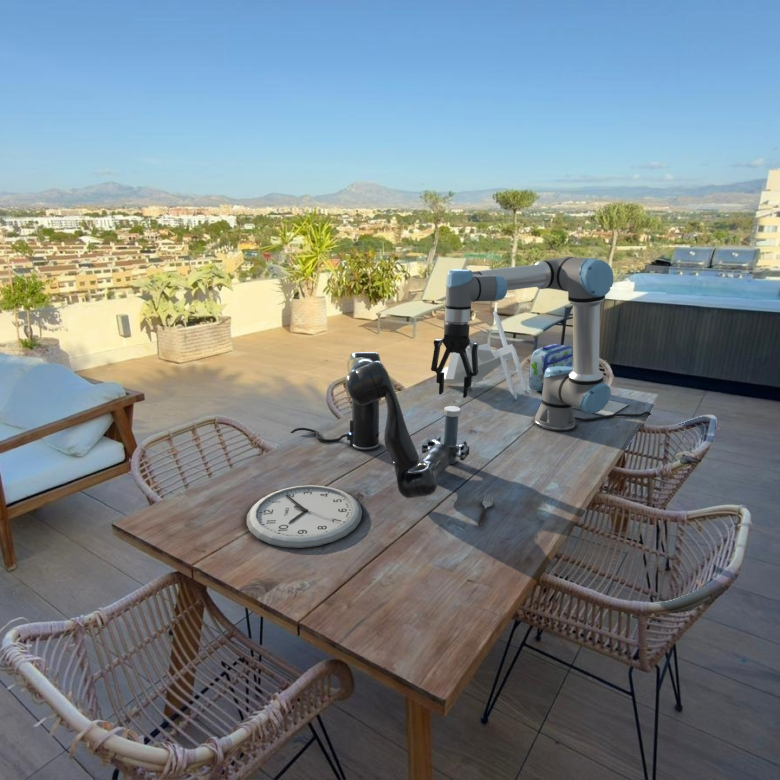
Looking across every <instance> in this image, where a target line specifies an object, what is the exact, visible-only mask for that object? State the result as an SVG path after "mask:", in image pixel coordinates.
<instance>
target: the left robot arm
mask: <svg viewBox="0 0 780 780" xmlns="http://www.w3.org/2000/svg"><path fill="white" fill-rule="evenodd" d="M346 365H347V367H346V368H347V375H346V377H345V387H346V391H347V393H348V396H349V397H350V399H351V419H350V420H349V431H348V432H347V433H344V434H342V435H340V437H338V438H332V439H326V438H321V437H320V436H319V435H320V433H319V431H318V430H315V429H312V428H308V427H296V428H294V429H293V430H291V431H290V434H294V433H295V432H297V431H306V432H311V433H314V434H315V437H316V439H317V440H318V441H320V442H324V443H325V442H326V443H332V442H339V441H341V440H342V439H343V438H346V440H347V441H349V447H352V448H353V449H355V450H358V451H373V450H376V449H378V448H379V447H380V433H381V432H380V399H383V398H384V399H385V402H386V408H387V409H386V410H387V411H386V421H385V428H384V434H383V435H384V436H383V439H384V445H385V448H386V451H387V453H388V455H389V457H390V460H391V461H392V463H393V466H394V472H395V478H396V483H397V489H398V492H399V493H400V495H401V496H402V497H404V498H406V499H414V498H420V497H426V496H427V497H428V496H430V495H432V494H434V493H435V492H436V491H437V488H438V480H439V477H440V475H442V474H443V473H444V472H445V471H446V470H447V468H448V467H449V465H451V464H450V463H451V461H452V459H453V458H455V457H456V458H459V460H460V461H465V460H466V459H467V457H468V456H469V455H470V449H471V448H470V446H469V445H468V442H467V441H466V440H463V441H462V442H461V443H460V444H458V443H457V444H455V445H444V443H441V440H442V439H441V438H442V437H441V436H440V435H438V436H436V437H434V439H433V438H432V440H431V439H429V438H426V439H425V441H424V442H423V443H422V445H421V454H424V455H423V456H422V458H421V459H420V456H419V453H418V451H417V449H416V446H415V445H414V442H413V440H412V437H411V435H410V433H409V430H408V428H407V424H406V421H405V418H404V414H403V410H402V407H401V404H400V402H399V398H398V395H397V393H396V390H395V387H394V383H393V381H392V379H391V376H390V374H389V372H388V370H387V368H386V367H385V365H384V363H382V362H381V357H380V354H379V353H378V352H376V351H357V352H355V351H354V352H352V353H351V354H349V356H348V359H347V364H346ZM454 448H455V449H454ZM414 467H415V468H414ZM413 468H414V470H412V471H410V470H411V469H413Z"/></svg>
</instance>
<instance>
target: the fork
mask: <svg viewBox="0 0 780 780" xmlns="http://www.w3.org/2000/svg"><path fill="white" fill-rule="evenodd" d="M487 492H488V491H487ZM487 492H485V494H484V497H483V500H482V506H483V507H484V508H483V509H482V511H481V512H480V515H479V520H478V525H477V526H478V527H480V525H481V523H482V522H483V520H484V519H485V516H486V511H487V508H489V507H492V505H493V500H494V493H490V494H489V492H488V493H487ZM486 494H487V495H486Z"/></svg>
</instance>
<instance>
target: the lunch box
mask: <svg viewBox="0 0 780 780" xmlns="http://www.w3.org/2000/svg"><path fill="white" fill-rule="evenodd" d="M555 366H567V367H573V346H571V345H565V344H558V343H553V344H548V345H546V346H542V347H540V348H537V349H535V350H534V351H533V352H532V354H531V357H530V362H529V374H528V375H529V376H528V387H529V388H528V389H530V390H534V391H539V392H542V390H543V380H544V375H545V370H546V369H547V368H549V367H555Z"/></svg>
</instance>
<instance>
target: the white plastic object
mask: <svg viewBox="0 0 780 780" xmlns="http://www.w3.org/2000/svg"><path fill="white" fill-rule="evenodd" d="M492 315H493V319H494V321H495V324H496V325H495V326H496V328H497V332H498V335H499V338H500V342H501V345H502V347H500V348H498V349H496V350H495V349H493V348H492V347H491V346H490V344H489V343H488V342H487V343H483V344H479V346H478V349H477V357H478V374H477V375H476V376H472V383H473V384H477V383H480V382H482V381H484V378H485V377H486V376H487V375H489V374H490V373H492V372H494V371H495V370H496V369H497V368H499V367H500V366H502V370H503V373H504V376H505V380H506V383H507V386H508V390H509V393H510V394H511V395H512V397H513V398H514V399H515V400H517V392H516V391H517V390H516V388H515V385H514V381H513V378H512V375H511V371H510V369H509V365H508V361H510V360H513V363H514V366H515V369H516V372H517V376H518V380H519V382H520V385H521V389H522V391H523V393H524V395H525V396H526V397H528V396H531V395H530V390H529V388H528V387H529V386H528V384H527V381H526V378H525V375H524V371H523V369H522V368H523V367H522V366H521V362H520V359H519V355H518V352H517V349H516V347H515V346H514V345H513V343H511V344H508V341H507V337H506V334H505V331H504V328H503V325H502V321H501V318H500V315H499V314H498V312H497V311H496V310H495V311H492ZM466 352H467V357H468V360H469V364H470V367H471V370H472V354H471V352H472V350H471V349H470V346H469V345H468V347H467V348H466ZM472 371H473V370H472ZM442 372H444V386H449V385H458V384H464V377H465V376H466V372H465V368H464V365H463V362H462V359H461V357H460V354H459V353H455V352H454V353H450V356H449V362H448V366H446V367H444V368H443V371H442Z"/></svg>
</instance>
